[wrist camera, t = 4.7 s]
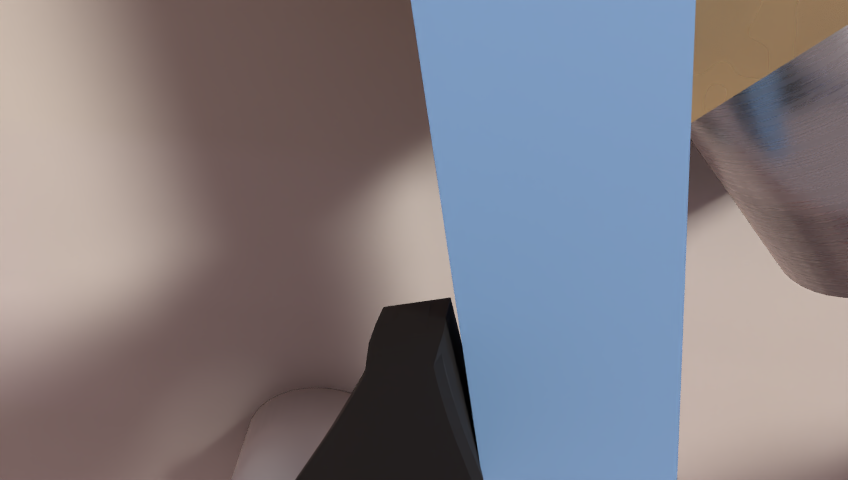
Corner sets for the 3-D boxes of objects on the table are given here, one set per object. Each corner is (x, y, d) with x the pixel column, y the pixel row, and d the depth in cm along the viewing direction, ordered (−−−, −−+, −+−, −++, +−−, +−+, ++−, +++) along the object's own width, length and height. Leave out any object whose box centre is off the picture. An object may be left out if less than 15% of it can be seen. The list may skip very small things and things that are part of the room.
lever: (708, -868, 6) (829, -1189, 4) (668, 448, 13) (702, 580, 11) (282, -760, 6) (184, -995, 4) (471, 458, 13) (469, 588, 11)
